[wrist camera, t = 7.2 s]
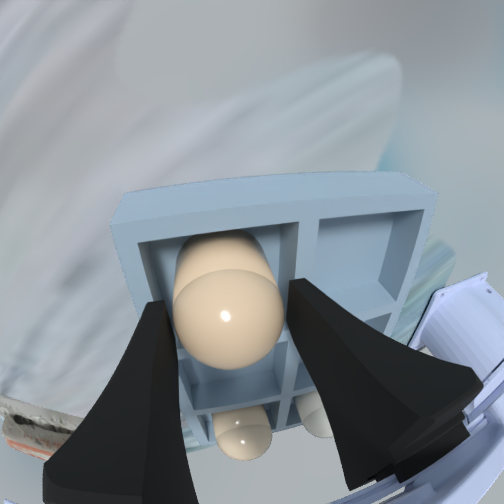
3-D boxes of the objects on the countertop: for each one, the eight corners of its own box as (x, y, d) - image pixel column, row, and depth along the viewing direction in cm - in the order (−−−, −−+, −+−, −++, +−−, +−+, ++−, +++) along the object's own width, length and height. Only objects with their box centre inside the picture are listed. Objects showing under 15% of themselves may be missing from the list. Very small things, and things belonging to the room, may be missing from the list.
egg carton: (400, 171, 13) (438, 192, 11) (339, 383, 24) (351, 408, 22) (124, 193, 11) (109, 225, 8) (195, 416, 22) (200, 445, 19)
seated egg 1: (260, 384, 19) (280, 445, 15) (260, 407, 21) (277, 459, 17) (205, 394, 18) (217, 457, 14) (213, 416, 20) (224, 470, 16)
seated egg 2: (341, 363, 20) (369, 415, 16) (331, 388, 22) (353, 434, 18) (292, 377, 19) (316, 434, 15) (288, 401, 21) (307, 451, 17)
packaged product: (162, 468, 18) (153, 486, 23) (157, 424, 22) (150, 452, 27) (-19, 425, 12) (12, 457, 16) (-9, 385, 16) (17, 425, 20)
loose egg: (265, 221, 12) (304, 303, 8) (265, 295, 14) (293, 380, 10) (168, 231, 11) (156, 321, 7) (183, 305, 13) (185, 395, 9)
